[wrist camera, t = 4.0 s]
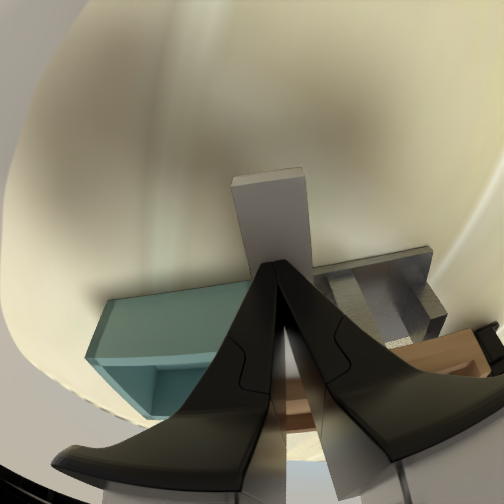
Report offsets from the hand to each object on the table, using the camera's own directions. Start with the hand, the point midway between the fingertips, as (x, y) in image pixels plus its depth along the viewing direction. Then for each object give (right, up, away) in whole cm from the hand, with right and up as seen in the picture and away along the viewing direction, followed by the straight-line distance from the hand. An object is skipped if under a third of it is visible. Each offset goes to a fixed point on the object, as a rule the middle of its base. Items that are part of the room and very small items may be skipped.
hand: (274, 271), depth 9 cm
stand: (+6, -3, +10) cm, 12 cm away
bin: (-5, -5, +11) cm, 13 cm away
